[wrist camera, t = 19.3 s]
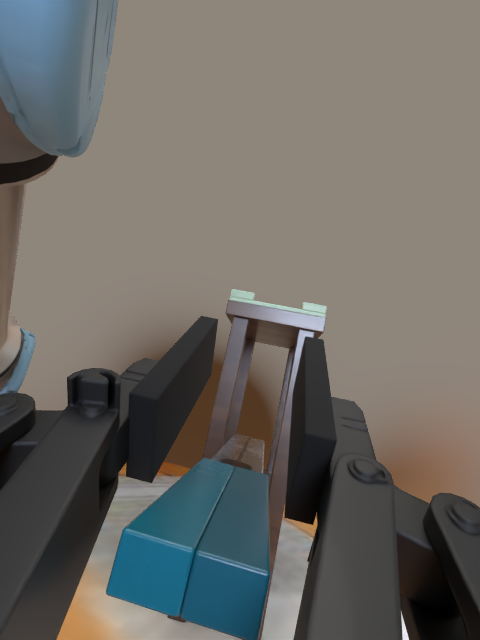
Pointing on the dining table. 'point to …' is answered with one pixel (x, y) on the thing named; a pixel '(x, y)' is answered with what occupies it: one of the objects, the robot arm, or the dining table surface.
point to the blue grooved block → (203, 545)
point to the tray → (306, 307)
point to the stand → (245, 331)
